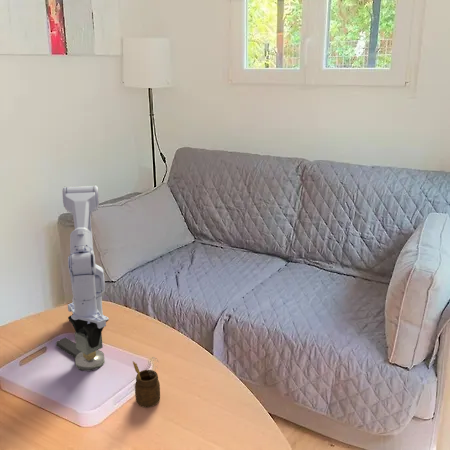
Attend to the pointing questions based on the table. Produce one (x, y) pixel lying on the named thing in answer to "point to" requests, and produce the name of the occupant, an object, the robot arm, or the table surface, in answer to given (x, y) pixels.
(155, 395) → the utensil holder
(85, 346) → the hollow square tube
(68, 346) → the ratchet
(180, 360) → the table surface
